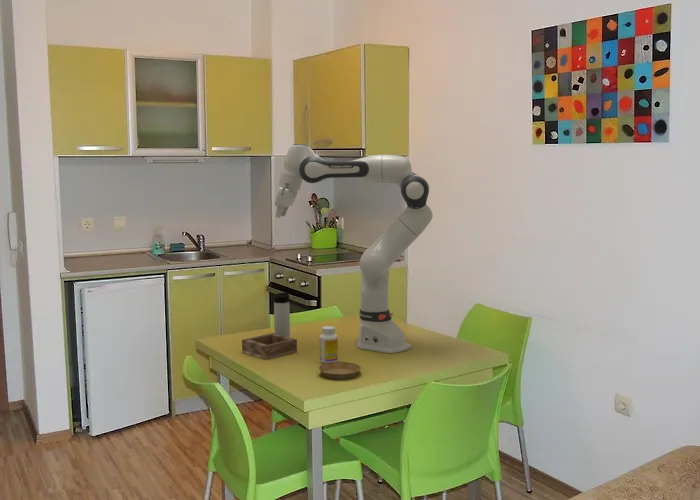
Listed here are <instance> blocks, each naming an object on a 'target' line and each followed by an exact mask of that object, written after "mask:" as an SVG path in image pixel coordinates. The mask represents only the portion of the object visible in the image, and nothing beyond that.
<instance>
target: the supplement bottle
mask: <svg viewBox="0 0 700 500" xmlns="http://www.w3.org/2000/svg"><path fill="white" fill-rule="evenodd" d="M321 332H322V334H320V335H319V362H320V363H322V364H325V363H330V362H339V353H338V352H339V347H338V346H339V343H338V342H339V341H338V339H339V338H338V335H337V334H336V333H335V332H336V327H334V326H330V325H329V326H328V325H327V326H326V325H325V326H322V328H321Z"/></svg>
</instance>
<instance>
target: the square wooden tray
mask: <svg viewBox="0 0 700 500" xmlns="http://www.w3.org/2000/svg"><path fill="white" fill-rule="evenodd" d="M241 348H242V349H241V350H242V351H241V352H242V353H243V354H247V355H249V356H253V357H255V358H259V359H262V360H271V359H275V358H279V357H283V356H287V355H291V354H296V353H298V340H297V339H296V338H293V337H290V338H289V337H285V336H282V335H278V334H275V332H274V333H273V332H271V333H270V332H269V333H268V334H267V333H266V334H263V335H257V336H253V337H248V338H244V339H241Z"/></svg>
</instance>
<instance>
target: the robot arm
mask: <svg viewBox="0 0 700 500" xmlns="http://www.w3.org/2000/svg"><path fill="white" fill-rule="evenodd" d="M411 164H412V163H411V161H410V160H409V159H408V158H407V157H406V156H402V155H395V154H374V155H368V156H367V155H366V156H364V157H360V158H357V159H354V160H346V161H345V160H338V161H337V160H334V161H333V160H331V161H330V160H329V161H328V160H325V159H324V158H322V157H320V156H319V155H318V154H317V153H316V152H314V151H313V149H312V147H311V146H309V145H307V144H304V143H303V144H301V143H294V144H293V143H292V144H291V145H290V146H289V148H288V150H287V153H286V156H285V159H284V161H283V168H282V171H281V173H280V176H279V179H278V182H277V184H278V186H279V189H278V191H277V194H276V195H277V196H276V198H275V201H274V206H276V213H275V217H276V218H278V219H279V218H281V217H286V215H287V212H288V210H289V207H292V206H293V204H294V202H295V200H296V197H297V195H298V192H299V191H300V189H301V188H302V183H303V181H305V182H306V183H309V184H317V183H321V182H323V181H325V180H327V179H330V178H331V179H333V178H334V179H335V178H339V179H340V178H341V179H343V178H347V179H348V178H349V179H350V178H351V179H356V180H359V181H363V182H367V183H372V184H396V185H397V186H399V187H400V194H401V197H402V198H403V200H404V202H405V203H406V208H405V209H404V211H403V212H401V214H400V215H399V216H398V217H397V218H395V220H394V221H393V222H392V223H391V224H390V225H389V226H388V227H387V228H386V229H385V230H384V231H383V233H381V235H380V236H378V238H377V239H376V240H375V241H374V242H373V243H371V245H370V247H368V248H366V249H364V252H362V255H361V256H360V259H359V265H358V267H359V269H360V271H361V273H360V274H361V275H360V277H361V279H360V308H359V312H358V313H359V319H360V323H359V330H358V337H357V341H356V348H357V349H360V350H361V349H362V350H365V351H366V350H367V351H372V352H380V353H385V354H394V353H400V352H403V351H406V350H409V349H411V348H412V344H410V343H408V342H406V338H405V337H406V336H405V333H404V331H403V330H402V329H401V328H400V327H399V326H398V325H397V324H396V323H395V322H394V321H393V320H392V317H393V316H394V312H391V311H390V309H389V277H390V276H389V275H390V274H389V272H390V271H389V269H390V268H391V267H392V265H394V264H395V262H396V261H397V260H398V258H399V257H401V255H402V254H403V253H404V252H405V251H406V250H407V249H408V248H409V247H410V246H411V245H412V244H413V243H414V242H415V240H416V239H418V237H420V235H421V234H422V233H423V232H424V231H425V230H426V228H427V227H428V226H429V224H430V223H431V221H432V219H433V212H432V209H431V208H430V206H429V205H428V204H427V201H428V197H429V193H430V184H429V183H428V181H427V180H426V178H425V177H424V176H421V175H418V174H417V173H415V172H413V171H412V165H411Z"/></svg>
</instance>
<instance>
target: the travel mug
mask: <svg viewBox="0 0 700 500" xmlns="http://www.w3.org/2000/svg"><path fill="white" fill-rule="evenodd" d="M290 315H291V314H290V294H289V293H288V292H286V291H284V292H280V293H276V294H274V295H273V316H274V317H273V321H274V322H273V323H274V334H278V335H282V336H285V337H289V338H291V332H290V331H291V325H290V324H291V323H290V319H291V317H290Z"/></svg>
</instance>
